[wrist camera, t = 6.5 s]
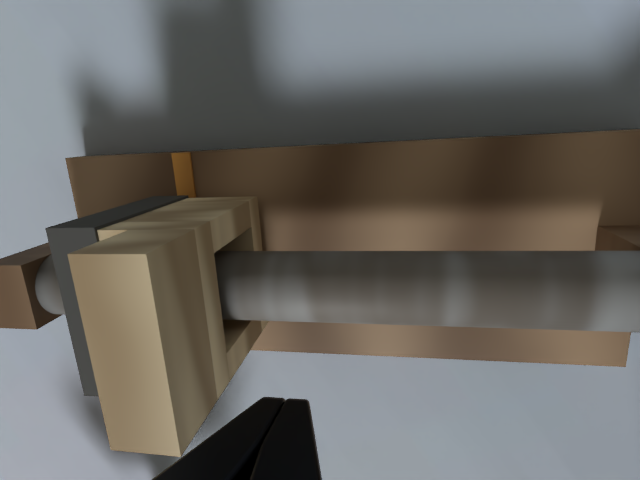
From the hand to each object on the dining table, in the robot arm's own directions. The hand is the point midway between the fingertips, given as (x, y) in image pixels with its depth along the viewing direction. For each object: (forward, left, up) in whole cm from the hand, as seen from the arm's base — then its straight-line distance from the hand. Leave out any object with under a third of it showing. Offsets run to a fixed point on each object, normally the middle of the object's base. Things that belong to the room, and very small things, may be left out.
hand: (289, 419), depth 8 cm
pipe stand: (+1, 0, -11) cm, 11 cm away
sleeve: (+5, 0, -10) cm, 11 cm away
